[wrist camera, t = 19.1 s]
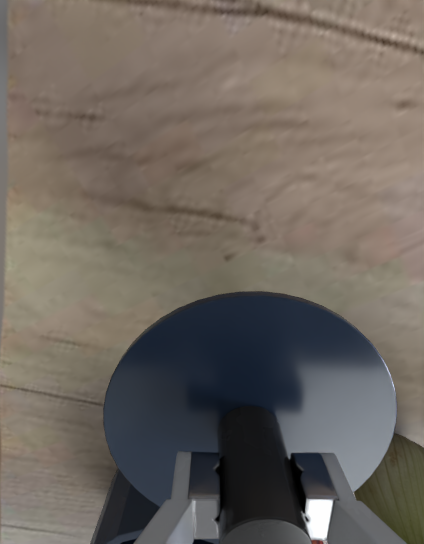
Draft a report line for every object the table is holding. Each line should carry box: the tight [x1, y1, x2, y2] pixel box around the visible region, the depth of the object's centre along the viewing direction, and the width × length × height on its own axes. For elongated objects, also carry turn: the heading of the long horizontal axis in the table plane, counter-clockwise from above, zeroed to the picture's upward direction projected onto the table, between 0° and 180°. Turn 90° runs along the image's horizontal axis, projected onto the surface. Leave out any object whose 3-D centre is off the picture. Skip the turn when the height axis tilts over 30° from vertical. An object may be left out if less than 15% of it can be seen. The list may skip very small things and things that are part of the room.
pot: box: [90, 468, 219, 544], centre depth 21 cm, size 11×11×6 cm
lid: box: [103, 291, 397, 544], centre depth 10 cm, size 12×12×5 cm
